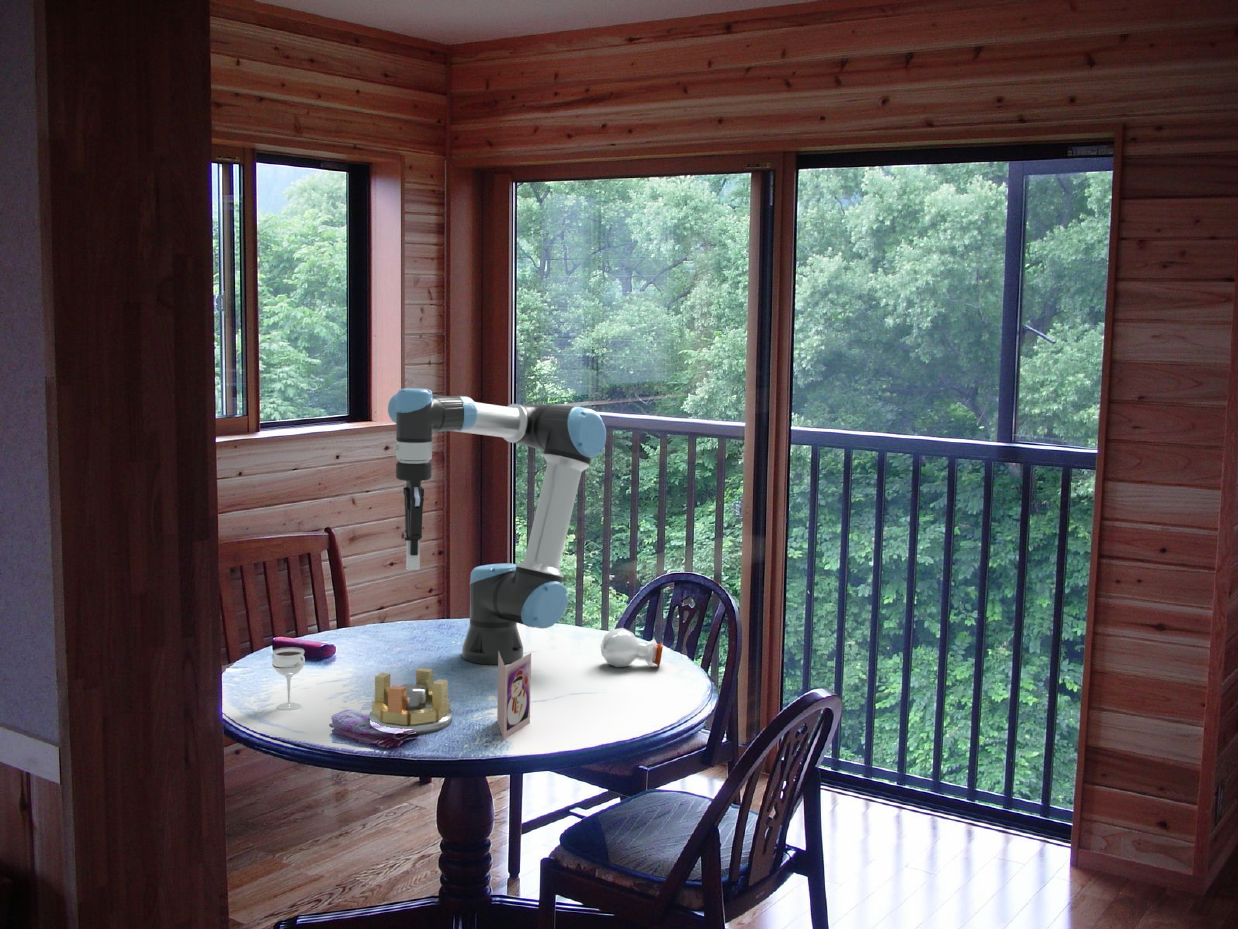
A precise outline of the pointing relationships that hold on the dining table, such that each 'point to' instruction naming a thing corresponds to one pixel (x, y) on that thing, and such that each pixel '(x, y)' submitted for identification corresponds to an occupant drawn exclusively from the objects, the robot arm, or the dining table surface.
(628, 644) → the potion bottle
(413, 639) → the dining table surface
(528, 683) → the greeting card
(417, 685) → the silver round piece
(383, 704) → the gold crown
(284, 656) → the wineglass
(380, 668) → the dining table surface
